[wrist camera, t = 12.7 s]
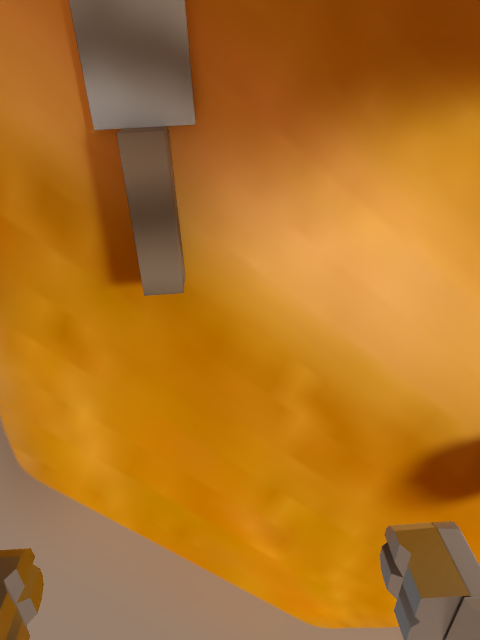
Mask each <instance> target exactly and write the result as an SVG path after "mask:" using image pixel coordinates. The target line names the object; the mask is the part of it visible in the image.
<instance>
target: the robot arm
mask: <svg viewBox="0 0 480 640" xmlns="http://www.w3.org/2000/svg"><path fill="white" fill-rule="evenodd" d="M385 537H386V540H387V543H386V544H384V545H383V546H382V548H381V554H380V561H381V570H382V574H383V579H384V582H385V585H386V588H387V590H388V591H389V592H390V593H391V594H392V595H393V596H394V597H395V598H396V599H397V602H396V606H395V609H394V612H395V615H396V618H397V621H398V624H399V627H400V629H401V632H402V635H403V638H404V640H480V565H479V563H478V562H477V560H476V558H475V556H474V554H473V552H472V551H471V549H470V547H469V545H468V543H467V541H466V539H465V538H464V536H463V534H462V532H461V530H460V528H459V527H458V526H457V525H456V524H455V523H454V522H451V521H448V522H435V523H430V522H428V523H416V524H404V525H391V526H388V527H387V528H386V532H385ZM34 558H35V556H34V554H33V552H32V550H31V548H28V549H10V550H0V640H29V639H30V634H29V631H28V628H27V624H28V623H29V622H30V621H31V620H32V619H33V618H34V617H35V616H36V615H37V613H38V610H39V606H40V603H41V600H42V593H43V585H44V584H43V575H42V572H41V570H40V568H38V567H37V566H35V565H33V561H34Z"/></svg>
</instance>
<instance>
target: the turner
mask: <svg viewBox="0 0 480 640" xmlns="http://www.w3.org/2000/svg"><path fill="white" fill-rule="evenodd" d="M69 4H70V9H71V14H72V19H73V25H74V30H75V35H76V40H77V45H78V50H79V55H80V61H81V66H82V71H83V76H84V81H85V86H86V92H87V97H88V102H89V107H90V112H91V117H92V122H93V128H94V130H106V129H122V130H120V131H119V132H118V133H116V134H117V139H118V145H119V151H120V157H121V163H122V169H123V174H124V180H125V186H126V192H127V198H128V204H129V210H130V215H131V221H132V227H133V233H134V239H135V245H136V250H137V256H138V262H139V268H140V274H141V280H142V286H143V291H144V296H146V295H161V294H175V293H184V282H185V269H184V261H183V252H182V243H181V235H180V226H179V218H178V209H177V200H176V192H175V183H174V174H173V166H172V157H171V149H170V140H169V131H168V126H178V125H195V124H196V122H195V111H194V99H193V88H192V76H191V65H190V53H189V42H188V30H187V19H186V7H185V0H69Z"/></svg>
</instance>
